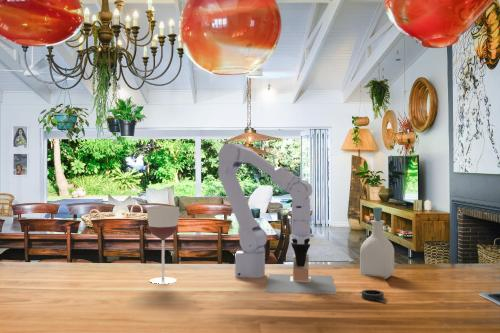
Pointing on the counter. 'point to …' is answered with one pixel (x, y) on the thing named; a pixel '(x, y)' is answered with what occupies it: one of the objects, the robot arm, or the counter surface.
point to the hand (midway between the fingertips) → (300, 263)
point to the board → (300, 284)
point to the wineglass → (163, 231)
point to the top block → (304, 265)
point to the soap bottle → (377, 251)
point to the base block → (300, 274)
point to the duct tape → (373, 295)
